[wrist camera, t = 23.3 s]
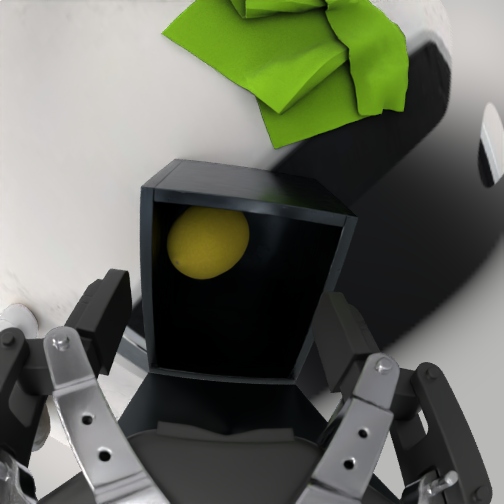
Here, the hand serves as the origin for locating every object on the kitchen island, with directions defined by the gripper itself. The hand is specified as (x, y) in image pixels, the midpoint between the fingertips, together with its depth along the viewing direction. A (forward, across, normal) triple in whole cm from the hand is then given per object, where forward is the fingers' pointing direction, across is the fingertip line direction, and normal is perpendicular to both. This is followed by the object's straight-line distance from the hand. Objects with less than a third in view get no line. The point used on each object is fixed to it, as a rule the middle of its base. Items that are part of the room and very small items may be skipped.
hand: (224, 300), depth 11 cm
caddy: (+15, -1, +5) cm, 16 cm away
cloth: (+16, -3, -16) cm, 22 cm away
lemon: (+14, -1, +2) cm, 14 cm away
